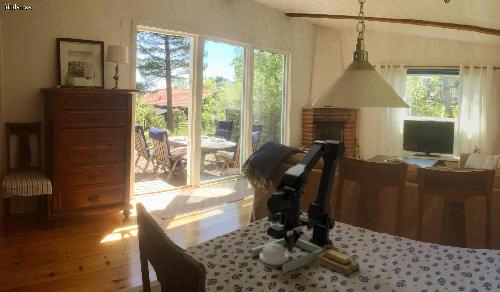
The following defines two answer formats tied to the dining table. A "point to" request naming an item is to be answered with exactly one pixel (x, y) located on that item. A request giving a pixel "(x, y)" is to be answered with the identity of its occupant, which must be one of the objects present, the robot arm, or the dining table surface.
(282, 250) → the mechanical component
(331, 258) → the block
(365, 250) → the dining table surface
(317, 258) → the rectangular frame
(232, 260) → the dining table surface
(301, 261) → the green u-shaped frame
